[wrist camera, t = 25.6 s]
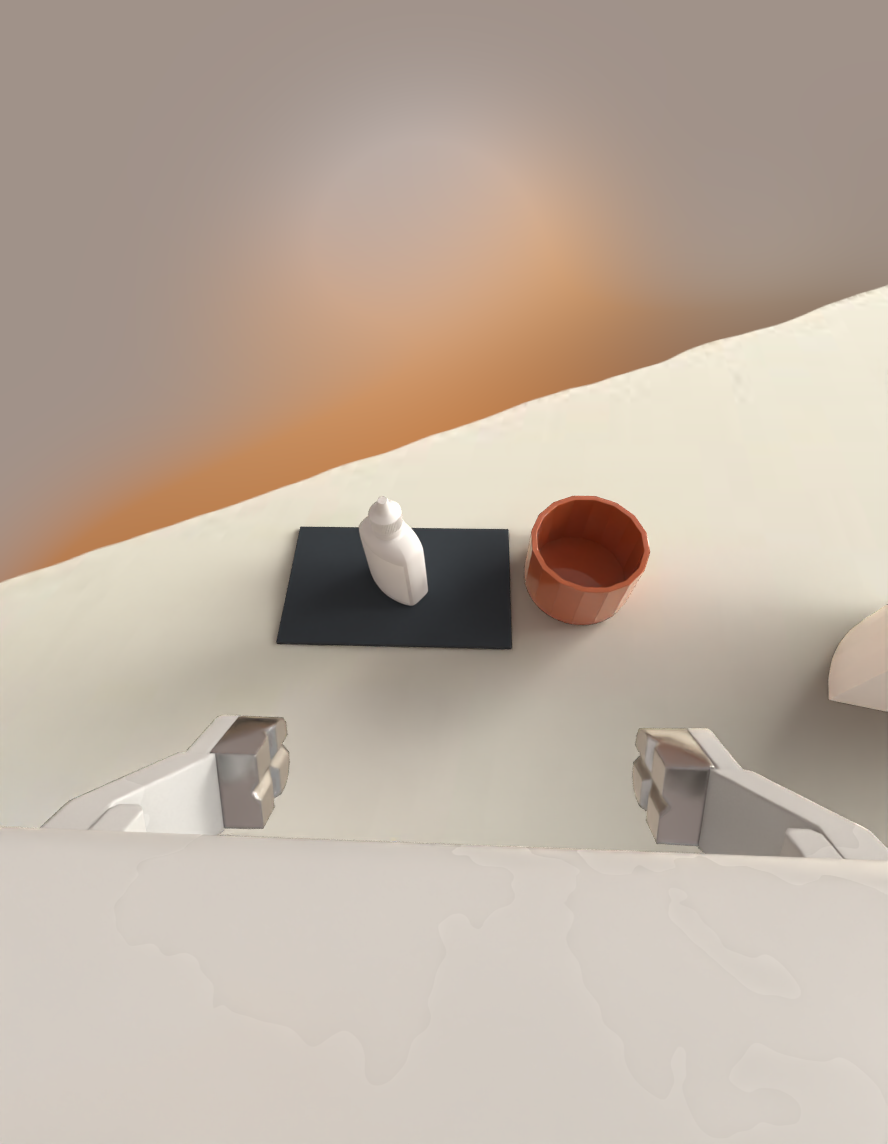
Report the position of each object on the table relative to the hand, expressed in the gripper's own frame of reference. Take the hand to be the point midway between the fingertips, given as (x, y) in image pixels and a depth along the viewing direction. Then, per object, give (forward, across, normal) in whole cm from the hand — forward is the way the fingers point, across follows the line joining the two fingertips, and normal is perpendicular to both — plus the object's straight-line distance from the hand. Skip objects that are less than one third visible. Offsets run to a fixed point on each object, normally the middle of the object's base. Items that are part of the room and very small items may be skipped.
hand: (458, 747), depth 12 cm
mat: (+35, +6, +6) cm, 36 cm away
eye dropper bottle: (+35, +6, +6) cm, 36 cm away
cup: (+36, -10, +6) cm, 38 cm away
